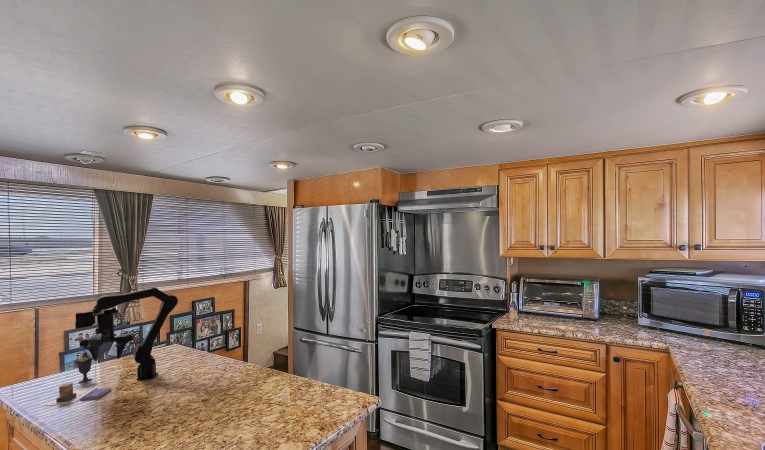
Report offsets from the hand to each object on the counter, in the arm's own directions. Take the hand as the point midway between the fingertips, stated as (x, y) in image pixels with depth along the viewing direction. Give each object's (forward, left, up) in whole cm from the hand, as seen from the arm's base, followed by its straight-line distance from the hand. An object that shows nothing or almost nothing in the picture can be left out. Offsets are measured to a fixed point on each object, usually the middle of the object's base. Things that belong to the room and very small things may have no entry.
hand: (107, 359), depth 159 cm
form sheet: (+10, +6, -12) cm, 17 cm away
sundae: (+16, -10, -12) cm, 22 cm away
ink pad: (0, +8, -12) cm, 14 cm away
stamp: (+10, +10, -12) cm, 18 cm away
